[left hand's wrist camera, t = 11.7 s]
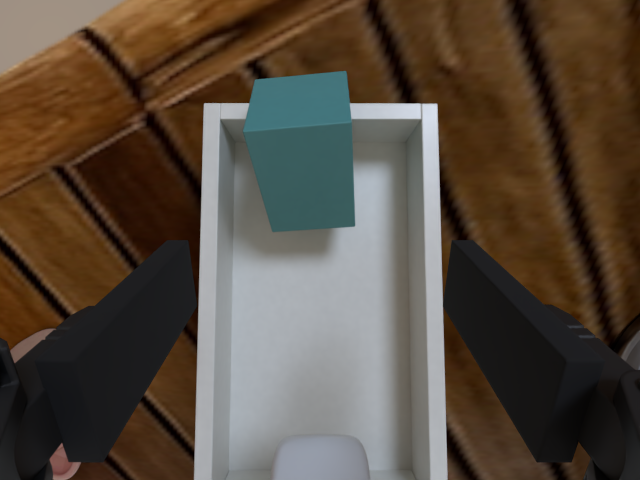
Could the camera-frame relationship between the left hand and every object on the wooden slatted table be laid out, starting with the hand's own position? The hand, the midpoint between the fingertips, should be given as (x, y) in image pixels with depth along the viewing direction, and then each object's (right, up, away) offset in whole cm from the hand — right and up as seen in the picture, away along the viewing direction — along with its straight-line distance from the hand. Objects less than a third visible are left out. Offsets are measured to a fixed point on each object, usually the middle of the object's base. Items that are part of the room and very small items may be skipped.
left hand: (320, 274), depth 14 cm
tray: (0, -3, +12) cm, 13 cm away
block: (0, +4, +10) cm, 10 cm away
